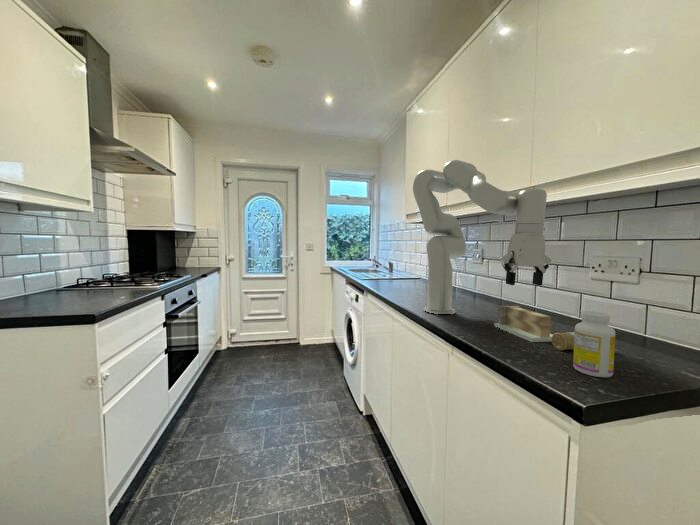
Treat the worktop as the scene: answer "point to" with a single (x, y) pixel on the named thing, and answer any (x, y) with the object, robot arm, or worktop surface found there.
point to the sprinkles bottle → (563, 340)
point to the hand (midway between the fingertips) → (523, 284)
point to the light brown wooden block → (525, 320)
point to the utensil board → (522, 333)
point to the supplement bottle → (594, 345)
